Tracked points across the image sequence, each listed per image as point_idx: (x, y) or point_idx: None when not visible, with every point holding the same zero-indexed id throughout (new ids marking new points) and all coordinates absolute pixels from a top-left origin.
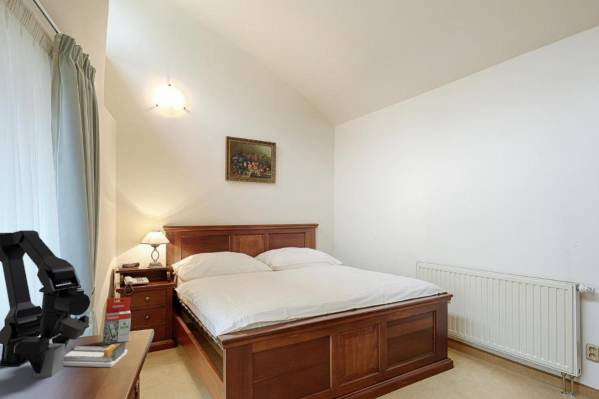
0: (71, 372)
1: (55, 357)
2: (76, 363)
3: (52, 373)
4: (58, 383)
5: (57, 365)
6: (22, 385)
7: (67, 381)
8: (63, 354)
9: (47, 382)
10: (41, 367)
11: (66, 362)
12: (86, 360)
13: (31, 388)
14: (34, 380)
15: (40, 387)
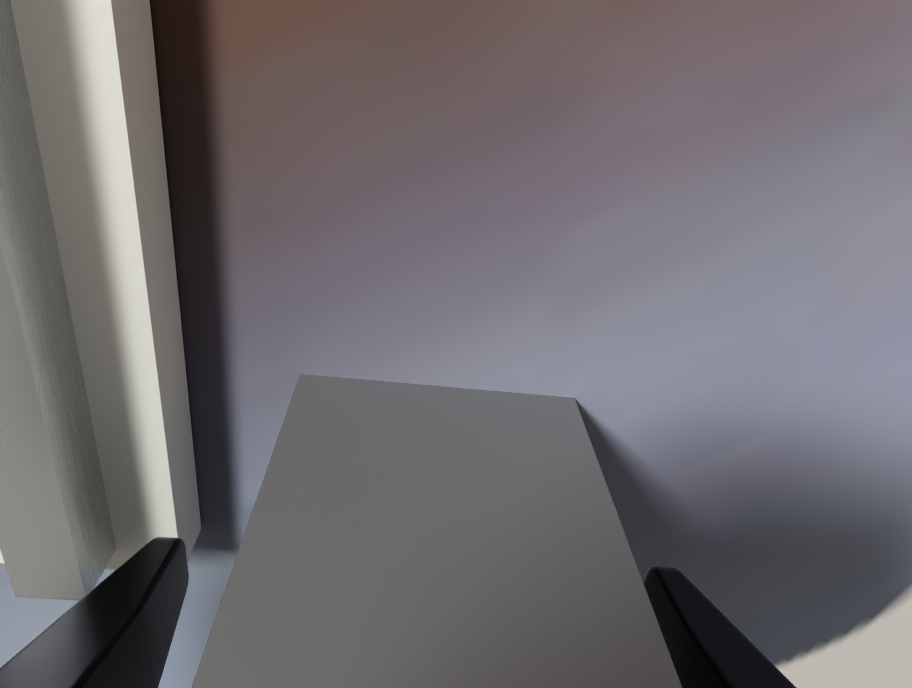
0: (447, 162)
1: (597, 665)
2: (146, 218)
3: (571, 424)
4: (868, 185)
5: (466, 472)
6: (757, 577)
7: (843, 52)
8: (261, 594)
9: (766, 364)
10: (727, 644)
11: (165, 411)
12: (1, 7)
13: (887, 463)
14: (651, 531)
15: (905, 378)
